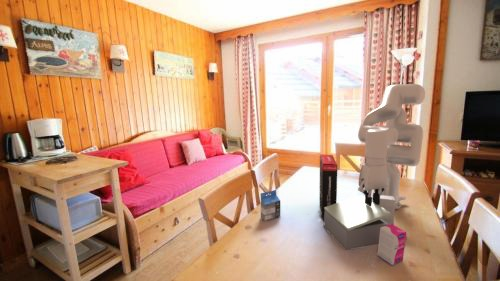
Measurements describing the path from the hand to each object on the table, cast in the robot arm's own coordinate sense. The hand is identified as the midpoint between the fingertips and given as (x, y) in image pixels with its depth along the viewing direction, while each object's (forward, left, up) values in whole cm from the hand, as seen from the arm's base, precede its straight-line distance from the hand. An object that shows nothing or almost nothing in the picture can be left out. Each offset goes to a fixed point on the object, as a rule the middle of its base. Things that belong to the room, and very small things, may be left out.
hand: (372, 203), depth 97 cm
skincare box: (-12, -5, -13) cm, 18 cm away
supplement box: (+4, +16, -13) cm, 21 cm away
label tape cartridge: (+36, -22, -13) cm, 45 cm away
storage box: (+7, 0, -13) cm, 15 cm away
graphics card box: (+8, -20, -13) cm, 25 cm away
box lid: (+7, 0, -3) cm, 8 cm away
